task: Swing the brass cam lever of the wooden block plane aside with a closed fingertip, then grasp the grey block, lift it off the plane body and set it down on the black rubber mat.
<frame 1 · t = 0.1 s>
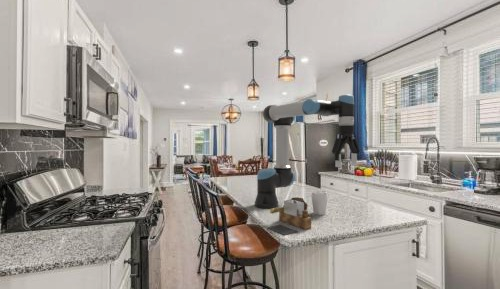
hand: (346, 166, 136), 28 cm above the table, fingers open, 13 cm apart
rock: (297, 216, 145), on the table
plane body: (294, 224, 130), on the table
grey block: (293, 213, 130), point 5 cm above the table, touching plane body
mat: (282, 229, 121), on the table
cup: (319, 213, 150), on the table
lever: (276, 209, 132), point 6 cm above the table, hinge at 0.0°
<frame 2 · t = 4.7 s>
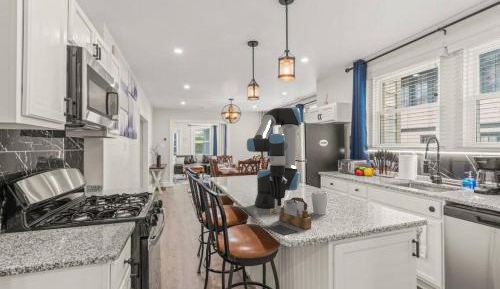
hand: (277, 211, 131), 6 cm above the table, fingers closed
lever: (276, 209, 132), point 6 cm above the table, hinge at 0.4°, touching gripper
everything else where it was.
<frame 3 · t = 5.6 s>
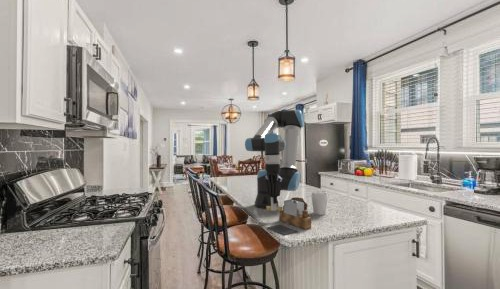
hand: (273, 209, 134), 6 cm above the table, fingers closed
lever: (274, 208, 136), point 6 cm above the table, hinge at 38.4°, touching gripper
everything else where it was.
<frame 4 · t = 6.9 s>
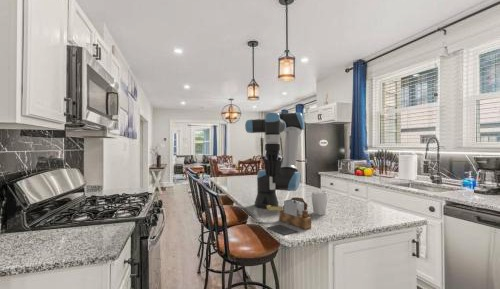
hand: (272, 189, 134), 16 cm above the table, fingers closed
lever: (274, 207, 137), point 6 cm above the table, hinge at 49.8°
everything else where it was.
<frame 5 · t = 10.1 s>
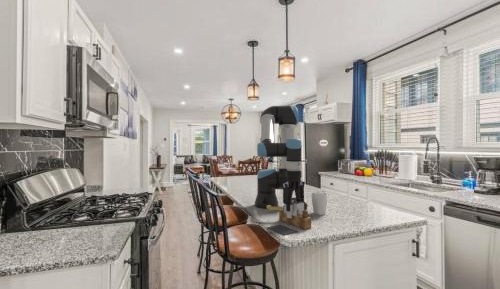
hand: (293, 216, 130), 4 cm above the table, fingers closed on grey block, 5 cm apart
grey block: (293, 213, 130), point 5 cm above the table, touching gripper, plane body
everything else where it was.
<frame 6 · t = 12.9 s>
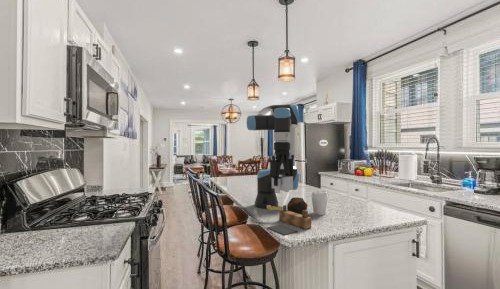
hand: (282, 192, 121), 17 cm above the table, fingers closed on grey block, 5 cm apart
grey block: (282, 189, 121), point 19 cm above the table, touching gripper
everything else where it was.
when the fingers open (1 cm above the table, at t = 15.9 s): grey block drops 2 cm, resting on mat.
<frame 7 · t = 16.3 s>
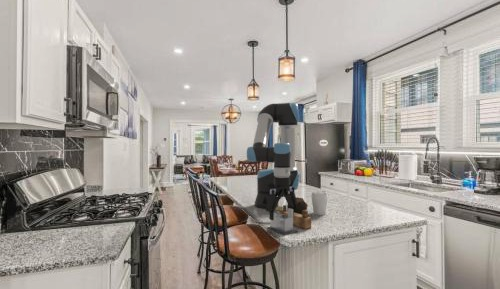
hand: (282, 224, 121), 2 cm above the table, fingers open, 10 cm apart
grey block: (282, 229, 121), resting on mat
everything else where it was.
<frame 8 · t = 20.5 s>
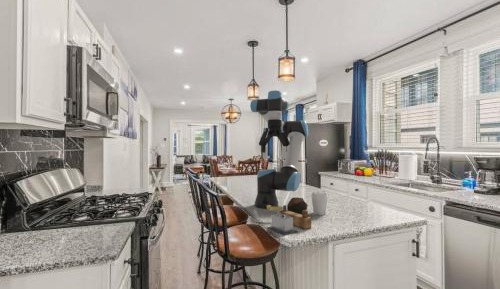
hand: (274, 158, 143), 32 cm above the table, fingers open, 13 cm apart
nothing on the table moved.
at the end: grey block inside the target area (0.0 cm from its centre), resting on mat; grey block tilted 0°; lever at +50° (first picture: +0°) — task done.
